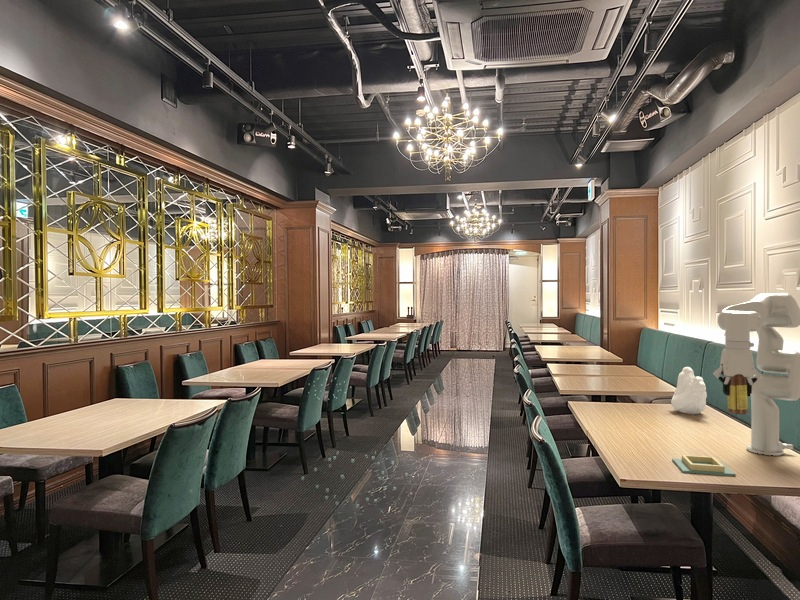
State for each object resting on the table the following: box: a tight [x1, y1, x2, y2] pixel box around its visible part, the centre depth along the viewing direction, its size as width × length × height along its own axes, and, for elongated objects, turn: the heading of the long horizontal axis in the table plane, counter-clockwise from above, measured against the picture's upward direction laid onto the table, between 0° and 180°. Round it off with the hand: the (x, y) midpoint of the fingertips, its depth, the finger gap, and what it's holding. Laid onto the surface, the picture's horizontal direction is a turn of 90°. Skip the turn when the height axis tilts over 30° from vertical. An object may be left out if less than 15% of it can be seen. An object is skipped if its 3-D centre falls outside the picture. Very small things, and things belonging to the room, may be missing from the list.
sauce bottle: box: [726, 374, 749, 415], centre depth 198 cm, size 7×6×20 cm
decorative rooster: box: [670, 366, 708, 415], centre depth 294 cm, size 25×16×25 cm, turn 166°
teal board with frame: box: [671, 454, 737, 477], centre depth 201 cm, size 17×15×3 cm
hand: (737, 394), depth 198 cm, fingers closed on sauce bottle, 6 cm apart
